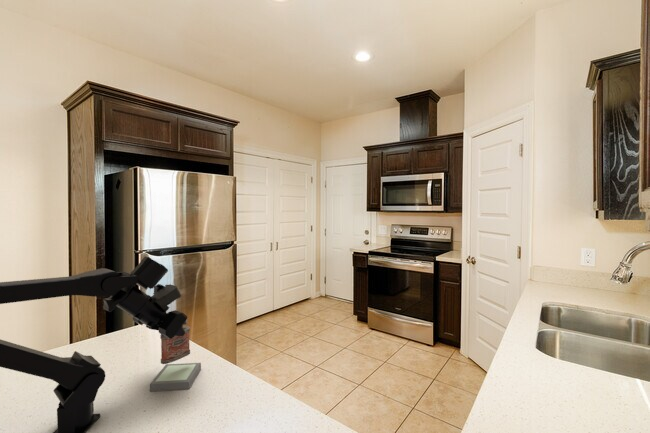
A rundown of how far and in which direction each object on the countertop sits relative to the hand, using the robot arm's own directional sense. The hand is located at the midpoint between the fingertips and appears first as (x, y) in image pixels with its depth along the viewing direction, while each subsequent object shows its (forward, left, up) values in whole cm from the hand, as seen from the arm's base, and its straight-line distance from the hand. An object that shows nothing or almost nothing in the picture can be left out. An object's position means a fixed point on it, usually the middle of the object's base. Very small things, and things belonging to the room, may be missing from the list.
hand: (180, 332), depth 86 cm
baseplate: (-1, +1, -13) cm, 13 cm away
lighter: (-1, +1, -7) cm, 7 cm away
